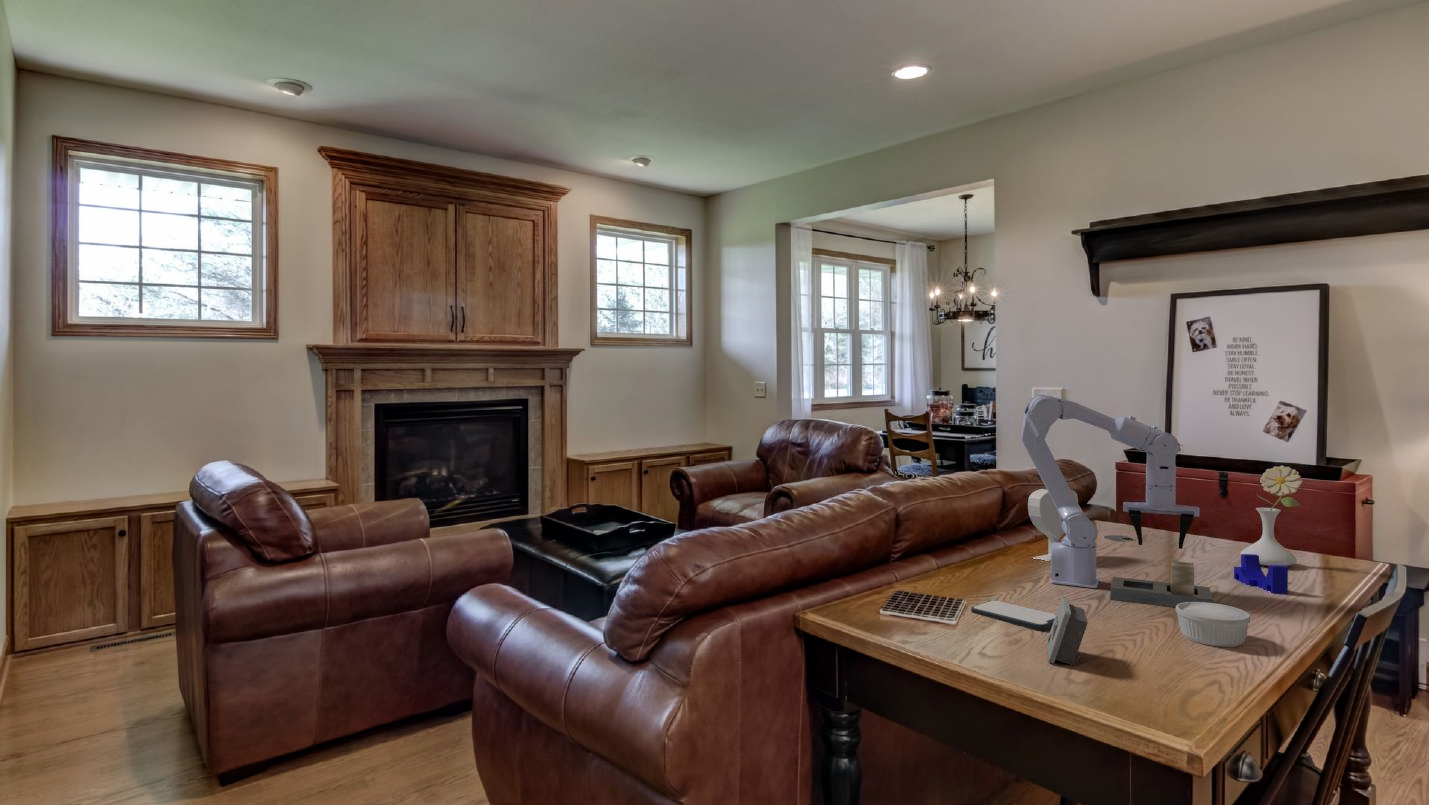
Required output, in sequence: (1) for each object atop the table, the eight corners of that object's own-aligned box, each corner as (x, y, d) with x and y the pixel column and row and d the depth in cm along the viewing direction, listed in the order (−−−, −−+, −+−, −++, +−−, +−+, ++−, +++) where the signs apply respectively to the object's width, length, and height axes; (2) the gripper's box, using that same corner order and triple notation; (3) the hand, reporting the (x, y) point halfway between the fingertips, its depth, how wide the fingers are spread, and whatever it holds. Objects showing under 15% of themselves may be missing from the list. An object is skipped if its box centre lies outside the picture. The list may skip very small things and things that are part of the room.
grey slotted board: (1110, 599, 158) (1110, 587, 158) (1112, 587, 167) (1112, 576, 167) (1212, 611, 149) (1212, 599, 149) (1209, 599, 158) (1209, 587, 157)
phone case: (968, 615, 151) (1042, 634, 138) (968, 607, 151) (1042, 626, 138) (993, 606, 156) (1068, 625, 143) (993, 599, 156) (1067, 616, 143)
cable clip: (1233, 579, 173) (1234, 553, 173) (1254, 580, 172) (1255, 554, 172) (1265, 594, 161) (1265, 566, 161) (1287, 594, 161) (1287, 567, 160)
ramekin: (1180, 624, 142) (1180, 597, 142) (1252, 637, 135) (1252, 608, 135) (1171, 641, 133) (1171, 612, 133) (1247, 655, 126) (1247, 624, 126)
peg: (1171, 603, 155) (1171, 565, 155) (1170, 598, 158) (1170, 561, 158) (1193, 606, 153) (1194, 567, 153) (1192, 601, 156) (1193, 563, 156)
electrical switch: (1046, 645, 132) (1051, 594, 131) (1078, 652, 130) (1084, 600, 129) (1048, 665, 123) (1054, 610, 122) (1082, 672, 121) (1089, 616, 120)
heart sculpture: (1063, 551, 202) (1063, 485, 201) (1080, 555, 197) (1080, 487, 197) (1025, 559, 194) (1025, 490, 194) (1042, 563, 190) (1042, 492, 189)
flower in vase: (1229, 561, 189) (1230, 463, 188) (1256, 556, 193) (1257, 461, 193) (1287, 573, 177) (1288, 468, 176) (1314, 568, 182) (1316, 466, 181)
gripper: (1122, 485, 166) (1122, 546, 166) (1200, 489, 158) (1199, 553, 159) (1124, 481, 172) (1123, 540, 172) (1198, 485, 164) (1198, 546, 165)
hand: (1160, 546), depth 166 cm, fingers open, 7 cm apart
